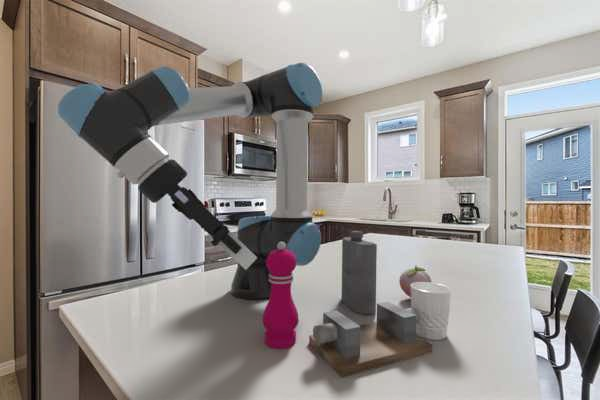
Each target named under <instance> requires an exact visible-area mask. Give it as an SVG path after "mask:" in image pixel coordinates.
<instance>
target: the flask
mask: <svg viewBox="0 0 600 400" xmlns="http://www.w3.org/2000/svg"><path fill="white" fill-rule="evenodd" d="M363 238H364V232H362V231H361V230H360V231H359V230H353V231H352V230H351V231H350V232H349V236H345V237H343V238H342V241H341V242H342V244H341V247H342V248H341V249H342V250H341V301H342V302H343V303H344V304H345V305H346V306H347V307H348V308H349V309H350V310H352V311H354V312H355V313H356V314H359V315H362V316H372V315H374V314H376V313H377V260H378V259H377V257H378V256H377V255H378V254H377V252H378V251H377V250H378V249H377V248H378V245H377V243H375V242H371V241H367V240H363Z"/></svg>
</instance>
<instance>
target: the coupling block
mask: <svg viewBox="0 0 600 400" xmlns="http://www.w3.org/2000/svg"><path fill="white" fill-rule="evenodd" d="M419 319H420V316H419V313H418V311H417V310H416V309H415V308H411V307H409V308H402V307H400V306H398V305H396V304H394V303H391V302H390V301H383V302H378V303H377V302H376V322H370V323H365V324H361V325H359V324H358V323H355V322H354V320H352V319H351V318H348V317H347V316H346V315H344V314H343V313H341V312H340V311H338V310H337V309H336V310H331V311H330V310H329V311H325V312H323V319H322V321H323V323H322V324H317V325H313V329H312V334H310V335H309V336H308V337H309V338H308V339H309V340H308V344H310V345H311V347H312V348H313V349H314V350H315V351H316V352H317V353H318V354H319V355H320V356H321V357H322V358H323V359H324V361H326V362H327V363H328V364H329V366H330V367H332V369H333V370H334V369H335V370H334V371H335V372H336V371H337V372H338V373H337V372H336V373H337V374H338V375H339V376H340V377H341V378H344V377H347V376H352V375H353V374H354V373H355V374H357V372H358V373H362V372H365V371H364V370H366V371H369V370H372V369H371V368H373V369H376V368H380V367H383V366H382V365H384V366H387V365H390V364H393V363H397V361H398V362H401V361H404V359H405V360H408V359H413V358H416V357H419V356H422V355H425V354H426V353H427V354H429V353H432V352H433V343H431V342H429V341H427V340H426V339H425V338H423V337H420V336H418V335H417V334H416V323H418V322H419ZM400 360H401V361H400ZM379 366H380V367H379ZM375 367H376V368H375ZM368 369H369V370H368ZM361 371H362V372H361Z"/></svg>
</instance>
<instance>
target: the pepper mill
mask: <svg viewBox="0 0 600 400" xmlns="http://www.w3.org/2000/svg"><path fill="white" fill-rule="evenodd" d="M277 248H278V250H274V251H272V252H271V253H270V254H269V255H268V257H267V262H266V265H267V268H268V270H269V271H270V272H271V273H270V274H269V282H271V295H270V298H268V301H267V304H266V306H265V308H264V311H263V314H262V325H263V327H264V328H265V332H264V343H265V344H266V345H267V346H268V347H269V348H272V349H287V348H290V347H292V346H294V345H295V343H296V342H297V332H296V330H295V329H296V328H297V326H298V325H299V321H300V320H299V313H298V309H297V307H296V304H295V302H294V299H293V296H292V282H294V280H295V279H294V273H293V271H294V270H295V269H296V267H297V265H296V258H295V256H294V254H293V253H292V252H291V251H289V250H286V249H285V248H286V244H285V243H284V242H279V243H278V245H277Z"/></svg>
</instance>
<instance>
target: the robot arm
mask: <svg viewBox="0 0 600 400" xmlns="http://www.w3.org/2000/svg"><path fill="white" fill-rule="evenodd" d="M322 100H323V87H322V84H321V80H320V78H319V76H318V74H317V72H316V70H314V68H313V67H312V66H310V64H307V63H305V62H297V63H294V64H289V65H287V66H285V67H283V68H281V69H277V70H275V71H272V72H268V73H266V74H262V75H260V76H258V77H256V78H253V79H251V80H246V81H238V82H235V83H233V84H232V85H230V86H211V87H189V86H188V84H187V82H186V80H185V79H184V77H183V76H182V75H181V74H180V73H179V72H178V71H177V70H176V69H174V68H172V67H170V66H167V65H166V66H165V65H164V66H160V67H158V68H155V69H151V70H150V71H149V72H146V73H145V74H143V75H141V76H139V77H138V78H136V79H134V80H132V81H130V82H128V83H127V84H125V85H123V86H120V88H117V89H114V90H111V91H110V92H108V91H107V90H106V88H103V87H102V86H101V85H100V84H97V83H95V82H88V83H83V84H80V85H78V86H76V87H74V88H72V89H71V90H69V91H68V92H67V93H65V94H64V95H63V96H62V98H60V101H58V105H57V113H58V116H59V117H60V118H61V119H62V121H63V122H64V123H66V124H67V125H68V127H70V129H72V131H73V132H74V133H76V136H78V138H80V139H82V140H83V141H84V142H85V143H86V144H87V145H88V146H90V147H91V148H92V149H93V150H94V151H96V152H97V154H99V155H100V156H102V158H103V159H105V160H106V161H107V162H108V163H109V164H110V165H111V166H113V168H115V170H118V172H117V175H116V176H117V177H118V178H119V179H123V178H124V177H125V179H126V180H127V181H128V182H130V184H132V185H137V184H138V187H137V188H138V191H139V192H140V193H141V194H143V195H144V197H146V198H147V199H148V200H149V201H150V202H151V203H154V204H155V203H158V202H159V201H160V200H162V199H163V198H164V197H165V196H166V195H168V196H169V197H170V200H171V201H172V202H173V203H171V207H173V208H174V209H175V210H177V212H178V213H182V215H184V217H186V218H187V219H188V220H189V221H191V220H192V221H193V220H194V222H195V223H197V224H198V225H199V226H200V228H201V229H203V231H204V232H206V234H207V235H209V236H210V237H211V238H212V240H211V242H210V244H211V245H212V246H214V247H216V246H217V245H219V246H220V248H221V249H223V250H224V252H226V253H227V254H228V255H230V256H231V258H233V259H234V261H235V262H237V267H236V270H235V273H234V276H233V280H232V282H231V289H230V292H231V295H232V296H233V297H236V298H239V299H243V300H244V299H245V300H263V299H270V295H271V282H269V274H270V273H271V272H270V271H269V270H268V268H267V265H266V262H267V257H268V255H269V254H270V253H271V252H272V251H274V250H278V248H277V245H278V243H279V242H284V243H285V244H286V248H285V249H286V250H289V251H291V252H292V253H293V254H294V256H295V258H296V267H297V266H298V267H299V266H300V267H303V266H307V265H308V264H310V263H311V262H313V261H314V259H315V257H316V256H317V255H318V253H319V250H320V248H321V242H322V233H321V230H320V228H319V226H318V225H317V224H315V223H313V215H312V213H311V212H310V211H309V210H308V157H309V156H308V155H309V154H308V151H309V150H308V148H309V147H308V144H309V143H308V140H309V139H308V138H309V137H308V135H309V133H308V132H309V128H308V126H309V123H310V122H311V121H312V119H314V108H317V107H318V106H319V105H320V104H321V102H322ZM231 116H237V117H239V118H240V119H241V118H243V119H245V118H253V117H254V118H256V117H257V118H258V117H271V119H273V120H274V122H275V123H276V167H275V168H276V169H275V170H276V173H275V174H276V177H275V178H276V181H275V182H276V183H275V184H276V188H275V189H276V192H275V194H276V195H275V205H276V206H275V210H274V211H273V212H272V213H271V214H270V215H258V216H248V217H247V216H246V217H243V218H240V219H239V220H238V222H237V223H238V224H237V225H238V227H237V231H236V232H237V236H236V235H235V234H234V233H232V231H231V230H229V227H228V226H227V225H224V224H223V223H222V222H221V221H220V220H219V219H218V218H217V217H216V216H215V215H214V214H213V213H212V212H211V211H209V209H207V208H206V205H205V203H203V202H202V201H201V200H200V199H199V198H198V197H197V194H195V192H194V191H193V190H191V189H190V188H189V189H188V188H186V187H185V186H182V187H181V186H180V185H179V184H180V183H181V182H182V181H183V180H184V179H185V178H186V177H187V176H188V173H187V170H185V169H184V168H183V167H182V166H181V165H180V164H179V163H178V162H177V161H176V160H175V159H172V158H171V159H169V158H170V154H169V152H167V150H166V149H165V148H164V147H163V146H161V144H160V143H158V141H156V140H155V138H154V137H152V135H150V134H149V133H148V132H147V131H149V130H150V129H151V128H153V127H154V126H155V127H156V126H161V125H168V124H177V123H185V122H191V121H192V122H193V121H201V120H208V119H215V118H222V117H223V118H224V117H231Z"/></svg>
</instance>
